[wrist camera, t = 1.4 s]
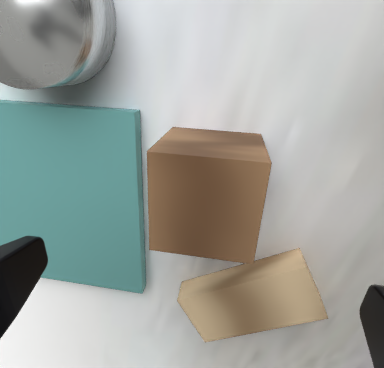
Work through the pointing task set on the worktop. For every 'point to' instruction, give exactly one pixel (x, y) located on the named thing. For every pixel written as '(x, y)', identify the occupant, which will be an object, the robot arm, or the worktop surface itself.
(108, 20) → the metal tin
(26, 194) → the plate
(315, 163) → the worktop surface
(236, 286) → the beech slab
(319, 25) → the worktop surface
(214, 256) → the walnut block
